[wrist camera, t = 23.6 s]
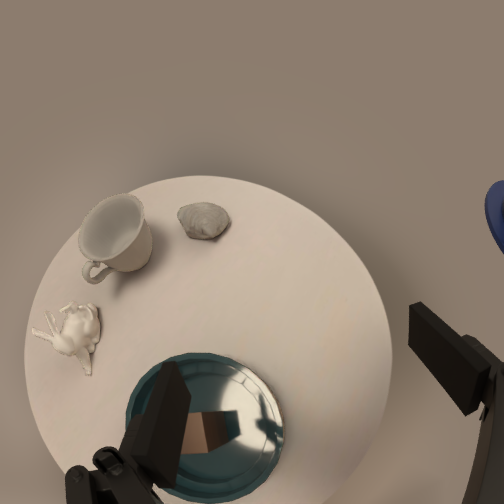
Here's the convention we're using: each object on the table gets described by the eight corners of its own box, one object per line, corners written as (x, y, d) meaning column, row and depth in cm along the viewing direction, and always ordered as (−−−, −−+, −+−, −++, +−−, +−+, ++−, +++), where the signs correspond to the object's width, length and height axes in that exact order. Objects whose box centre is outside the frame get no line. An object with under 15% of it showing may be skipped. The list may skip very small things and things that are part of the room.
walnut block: (223, 410, 36) (201, 412, 27) (229, 441, 33) (208, 452, 25) (191, 414, 36) (161, 415, 27) (196, 445, 34) (167, 454, 25)
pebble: (180, 248, 49) (170, 232, 45) (183, 209, 53) (174, 192, 49) (231, 241, 49) (225, 224, 44) (230, 202, 53) (224, 184, 48)
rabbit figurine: (91, 377, 40) (52, 366, 32) (61, 364, 42) (22, 350, 33) (109, 310, 46) (75, 287, 37) (79, 302, 47) (45, 279, 39)
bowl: (311, 401, 35) (314, 401, 30) (238, 514, 28) (229, 529, 23) (188, 335, 42) (173, 324, 37) (125, 439, 35) (102, 441, 30)
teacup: (90, 289, 48) (57, 264, 39) (128, 221, 54) (103, 188, 45) (140, 313, 45) (107, 289, 36) (179, 235, 51) (157, 199, 42)
